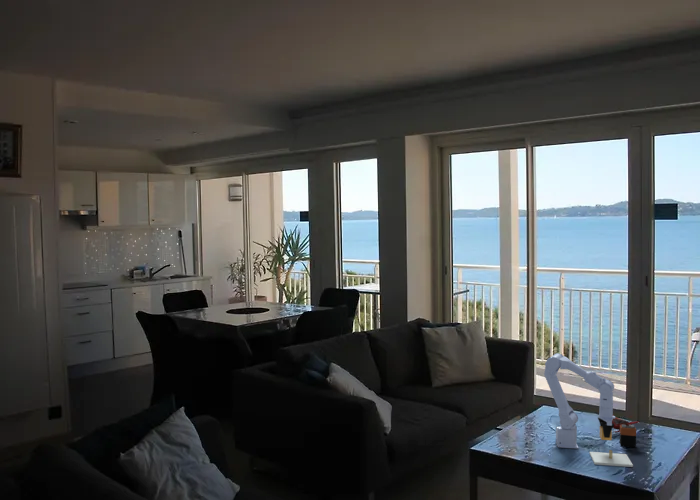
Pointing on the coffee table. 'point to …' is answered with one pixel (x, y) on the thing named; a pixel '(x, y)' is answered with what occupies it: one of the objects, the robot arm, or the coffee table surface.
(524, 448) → the coffee table surface
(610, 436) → the tan cardboard-like box
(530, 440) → the coffee table surface
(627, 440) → the battery
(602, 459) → the plate
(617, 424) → the decorative bird figurine
